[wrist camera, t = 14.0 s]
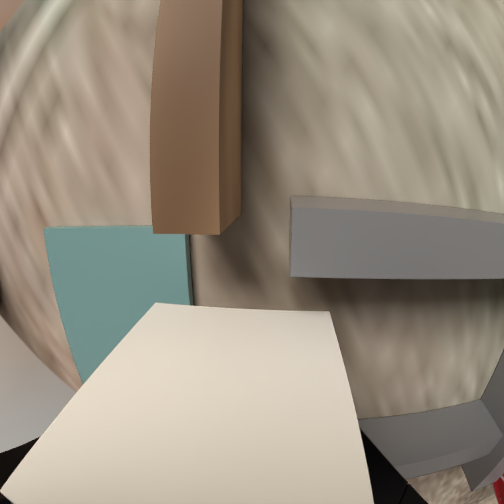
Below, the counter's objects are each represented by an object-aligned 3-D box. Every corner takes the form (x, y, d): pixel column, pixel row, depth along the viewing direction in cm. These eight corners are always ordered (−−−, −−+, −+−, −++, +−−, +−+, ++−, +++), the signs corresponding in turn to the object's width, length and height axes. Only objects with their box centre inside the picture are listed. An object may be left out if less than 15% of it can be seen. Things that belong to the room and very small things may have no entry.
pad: (92, 394, 13) (89, 398, 12) (49, 227, 10) (43, 228, 10) (207, 420, 12) (205, 426, 11) (188, 225, 9) (184, 228, 9)
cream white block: (177, 416, 10) (113, 570, 3) (155, 302, 8) (-1, 491, 2) (310, 428, 9) (310, 602, 2) (329, 311, 8) (383, 582, 1)
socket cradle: (273, 464, 12) (267, 525, 9) (290, 115, 8) (293, 74, 4) (475, 438, 11) (496, 480, 7) (560, 170, 7) (618, 181, 3)
